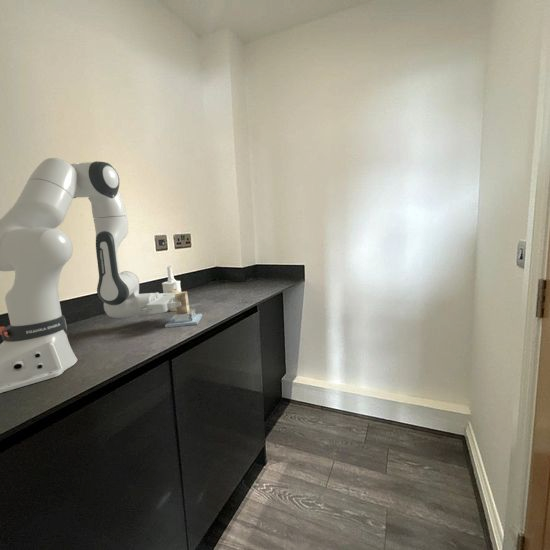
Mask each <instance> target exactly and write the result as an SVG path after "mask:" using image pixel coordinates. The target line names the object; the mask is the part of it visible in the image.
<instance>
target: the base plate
mask: <svg viewBox="0 0 550 550" xmlns="http://www.w3.org/2000/svg"><path fill="white" fill-rule="evenodd" d="M195 314H196V316H195V317H194V319H193V320H192V321H186V322H176V323H175V319H174V315H173V316H172V318H171V317H170V319H169V320H168V321H167V323H166V324H165V326H164V327H165V328H177V327H184V326H186V325H187V326H195V325H196V324H197V325H198V323H199V322H200V320H201V319H202V317H203V314H202V313H195ZM197 325H196V326H197Z"/></svg>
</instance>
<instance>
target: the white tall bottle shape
mask: <svg viewBox="0 0 550 550" xmlns="http://www.w3.org/2000/svg"><path fill="white" fill-rule="evenodd" d="M174 275H175V274H173V268H172V267H171V265H167V276H168V277H167V281H164V282H162V283H161V286H162V290H163V293H168V292H169V290H172V289H177V290H178V291H179V292H182V288H181V280H177V279H175V277H174Z"/></svg>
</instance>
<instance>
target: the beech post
mask: <svg viewBox="0 0 550 550" xmlns="http://www.w3.org/2000/svg"><path fill="white" fill-rule="evenodd" d="M175 301H176V302H177V301H181V302H182V305H181V306H180V307H176V309H177V311H176V314H185V313H190V310H189V309H190V301H189V296H188V291H187V290H185V291H181V292H177V293H175Z"/></svg>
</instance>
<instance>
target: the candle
mask: <svg viewBox="0 0 550 550" xmlns="http://www.w3.org/2000/svg"><path fill="white" fill-rule="evenodd" d="M177 292H179V291H178V290H177V289H172V290H169V292H168V293H177ZM169 311H170V312H177V309H176V307H174V308H170V309H169Z"/></svg>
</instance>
